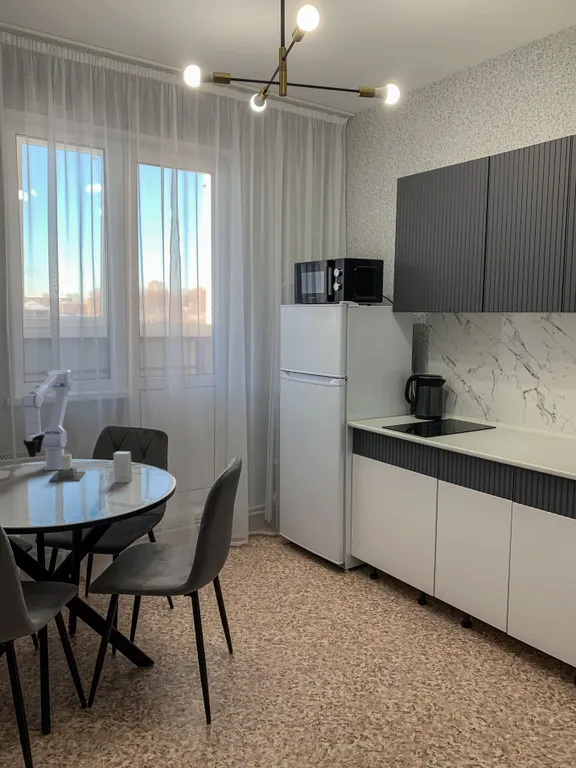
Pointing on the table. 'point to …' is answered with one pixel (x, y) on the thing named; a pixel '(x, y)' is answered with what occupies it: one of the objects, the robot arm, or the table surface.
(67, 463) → the column
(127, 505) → the table surface
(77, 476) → the stand base
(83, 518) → the table surface
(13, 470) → the table surface
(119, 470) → the skincare box
